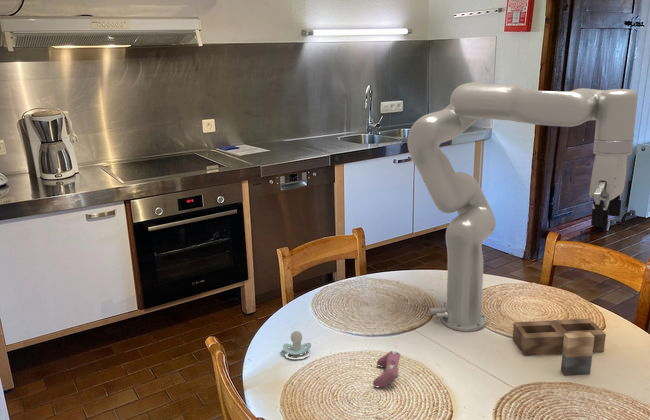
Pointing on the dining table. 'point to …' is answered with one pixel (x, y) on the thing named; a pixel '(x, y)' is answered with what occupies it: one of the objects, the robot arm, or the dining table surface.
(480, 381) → the dining table surface
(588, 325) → the hollow wooden brick
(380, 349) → the dining table surface
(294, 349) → the pacifier
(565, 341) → the rail end
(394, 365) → the purple curved piece
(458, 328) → the robot arm
